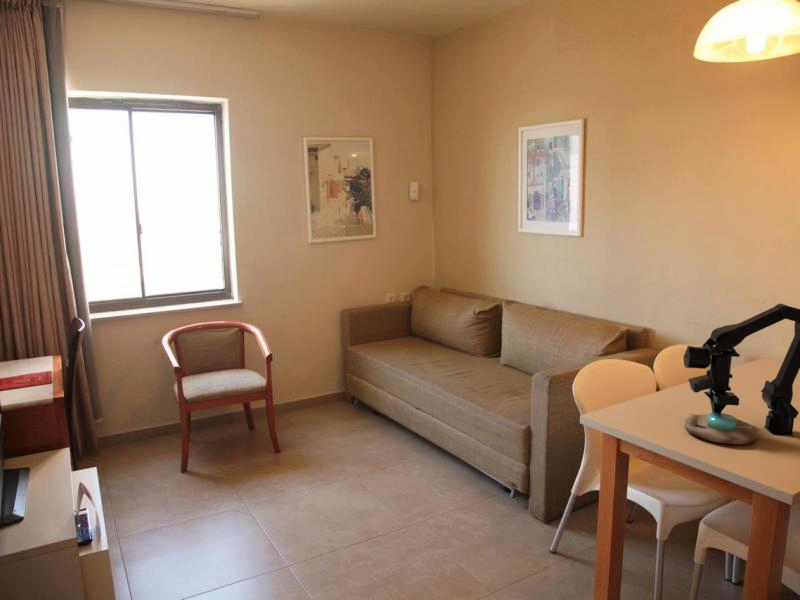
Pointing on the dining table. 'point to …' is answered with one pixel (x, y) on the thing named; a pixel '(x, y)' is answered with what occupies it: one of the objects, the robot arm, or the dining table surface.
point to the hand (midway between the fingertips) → (715, 417)
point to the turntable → (739, 436)
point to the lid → (721, 422)
